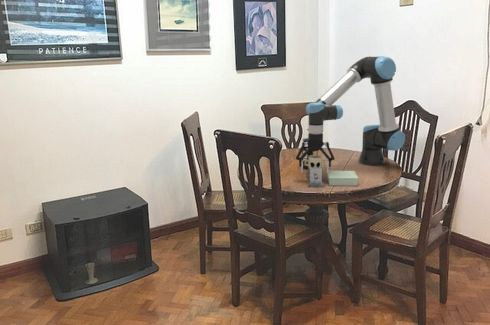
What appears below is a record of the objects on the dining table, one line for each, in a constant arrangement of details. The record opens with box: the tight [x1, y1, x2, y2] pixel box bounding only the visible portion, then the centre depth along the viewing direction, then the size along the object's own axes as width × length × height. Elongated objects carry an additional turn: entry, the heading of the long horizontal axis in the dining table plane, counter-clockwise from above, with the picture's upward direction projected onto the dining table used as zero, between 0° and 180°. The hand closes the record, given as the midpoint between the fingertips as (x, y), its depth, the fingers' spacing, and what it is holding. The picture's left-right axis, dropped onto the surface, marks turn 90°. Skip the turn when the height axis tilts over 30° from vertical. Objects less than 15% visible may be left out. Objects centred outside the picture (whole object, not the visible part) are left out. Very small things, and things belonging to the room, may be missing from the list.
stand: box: [326, 170, 359, 187], centre depth 236 cm, size 15×15×4 cm
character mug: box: [304, 154, 326, 181], centre depth 238 cm, size 11×7×13 cm, turn 86°
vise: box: [305, 166, 325, 188], centre depth 238 cm, size 8×25×9 cm, turn 175°
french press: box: [301, 128, 319, 170], centre depth 264 cm, size 12×9×23 cm
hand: (314, 172), depth 239 cm, fingers open, 13 cm apart
